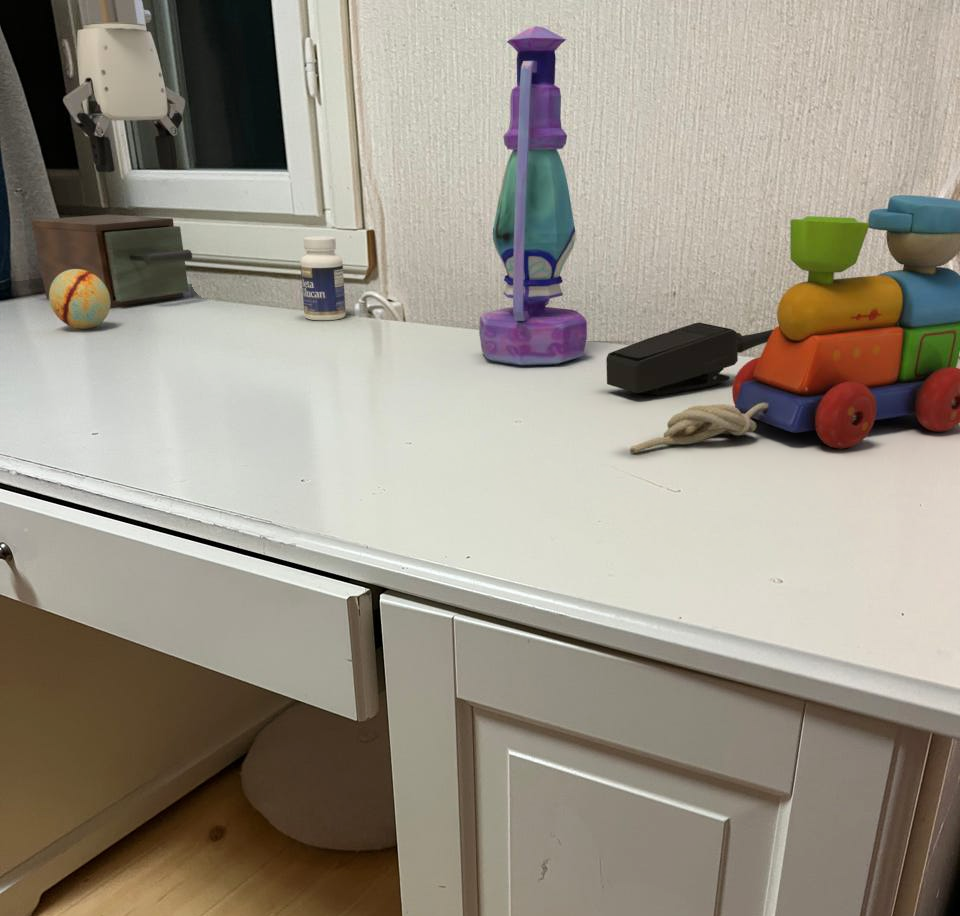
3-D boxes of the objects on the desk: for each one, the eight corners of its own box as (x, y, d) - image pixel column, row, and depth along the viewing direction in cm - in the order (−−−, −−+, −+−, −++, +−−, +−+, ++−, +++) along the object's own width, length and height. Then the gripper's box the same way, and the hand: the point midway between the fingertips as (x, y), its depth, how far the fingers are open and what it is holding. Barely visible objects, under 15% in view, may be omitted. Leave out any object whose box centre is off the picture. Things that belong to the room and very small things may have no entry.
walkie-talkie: (590, 365, 91) (749, 322, 99) (621, 421, 90) (779, 374, 98) (619, 323, 85) (784, 282, 94) (653, 383, 84) (817, 336, 92)
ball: (43, 332, 121) (31, 271, 118) (80, 322, 127) (69, 265, 124) (91, 334, 119) (80, 273, 116) (126, 325, 125) (116, 266, 122)
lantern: (495, 343, 112) (494, 34, 98) (596, 347, 109) (610, 30, 95) (461, 367, 100) (455, 21, 87) (574, 372, 98) (585, 16, 84)
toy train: (593, 436, 77) (604, 203, 69) (872, 396, 88) (907, 191, 80) (686, 480, 67) (710, 214, 60) (987, 429, 78) (1040, 198, 70)
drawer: (210, 294, 142) (202, 227, 138) (142, 304, 134) (131, 234, 130) (129, 284, 153) (119, 222, 149) (61, 293, 144) (49, 227, 140)
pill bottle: (297, 320, 127) (290, 238, 123) (315, 313, 132) (309, 235, 127) (335, 321, 126) (329, 239, 121) (352, 315, 131) (347, 235, 126)
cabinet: (184, 296, 147) (173, 218, 142) (109, 308, 138) (94, 224, 133) (120, 288, 155) (108, 214, 150) (46, 298, 146) (30, 220, 141)
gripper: (154, 24, 131) (175, 167, 138) (32, 15, 119) (62, 172, 126) (189, 20, 126) (208, 168, 134) (66, 10, 114) (96, 173, 122)
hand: (138, 170), depth 130 cm, fingers open, 9 cm apart
